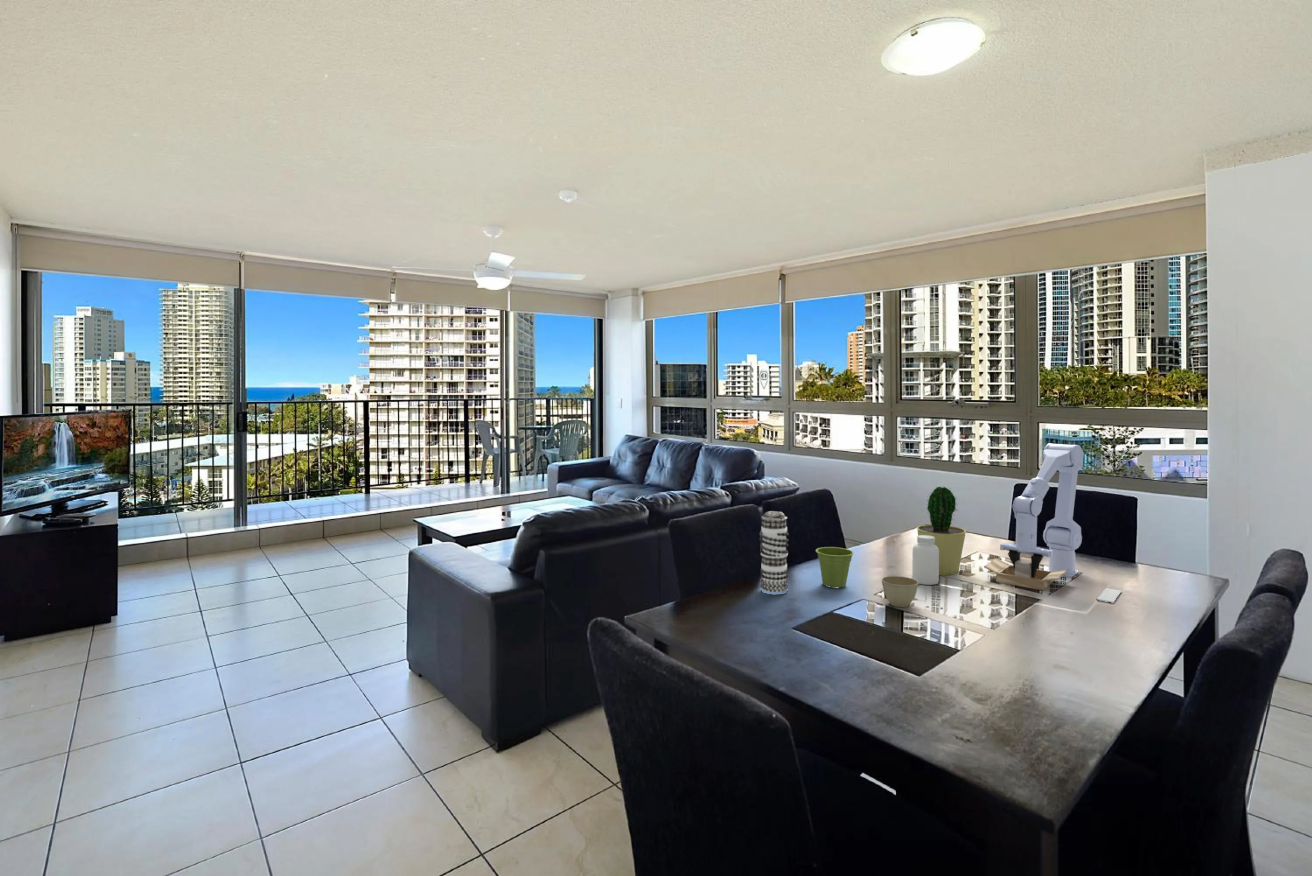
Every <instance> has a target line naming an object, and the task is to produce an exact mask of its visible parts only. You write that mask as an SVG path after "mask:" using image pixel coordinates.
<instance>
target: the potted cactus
mask: <svg viewBox="0 0 1312 876" xmlns="http://www.w3.org/2000/svg"><path fill="white" fill-rule="evenodd" d="M927 497H928V499H927V504H926V505H927V507H926V508H927V509H926V510H927V511H928V512H927V513H926V514H927V515H929V520H930V521H929V522H930V524H922V525H919V526H916V529H917V536H919V535H927V536H933V537H935V542H934V545H936V546H937V547H938V549H939V576H941V575H942V576H943V577H944V576H945V577H950V576H952V575H954V574H958V573H959V571H960V565H961V560H962V555H963V550H964V545H965V539H966V538H965V537H966V532H967V531H966V529H964V528H961V527H957V526H953V525H952V520H953V521H954V520H955V519H953V517H954V516H955V515H954V513H955V512H959V510H958V509H957V503H956V502H957V500H958V497H956V496H955V495H954V491H953V492H952V490H951V489H950V488H947V487H946V486H938V487H937V486H935V488H934V489H933V491H931V493H930V495H928V496H927Z"/></svg>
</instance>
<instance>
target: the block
mask: <svg viewBox="0 0 1312 876" xmlns="http://www.w3.org/2000/svg"><path fill="white" fill-rule="evenodd" d="M1031 571H1032V561H1031V557H1029V558H1028V557H1020V559H1019V560H1018V561H1016V562H1015V576H1020V577H1026V578H1032V579H1034V578H1035V577H1031Z"/></svg>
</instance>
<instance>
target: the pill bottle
mask: <svg viewBox="0 0 1312 876" xmlns="http://www.w3.org/2000/svg"><path fill="white" fill-rule="evenodd" d="M934 542H935V537H933V536H927V535H919V536H918V535H917V536H916V543H915V544H914V545H913V546H912V549H911V550H912V552H911V553H912V554H911V555H912V559H911V560H912V561H911V564H912V565H911V568H912V569H911V572H912V573H911V578H912V579H915V580H916V581H918V585H925V586H933V585H937V584H939V579H940V577H939V576H940V575H939V549H938V547H937V546H936V545H934Z"/></svg>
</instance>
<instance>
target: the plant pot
mask: <svg viewBox="0 0 1312 876" xmlns="http://www.w3.org/2000/svg"><path fill="white" fill-rule="evenodd" d="M815 552H816V554H817V558H818V561H819V562H818V563H819V568H820V574H821V582H822V585H823V584H824V585H823V586H825V585H827V586H830V587H840V588H845V587H846V586H847V583H848V582H847V581H848V580H847V579H848V575H849V569H850V565H851V561H852V557H853V555H854V554H855V552H854V551H853V550H851V549H848V548H843V547H836V546H824V547H818V548H816V549H815ZM827 586H826V587H827ZM844 586H845V587H844Z"/></svg>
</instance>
